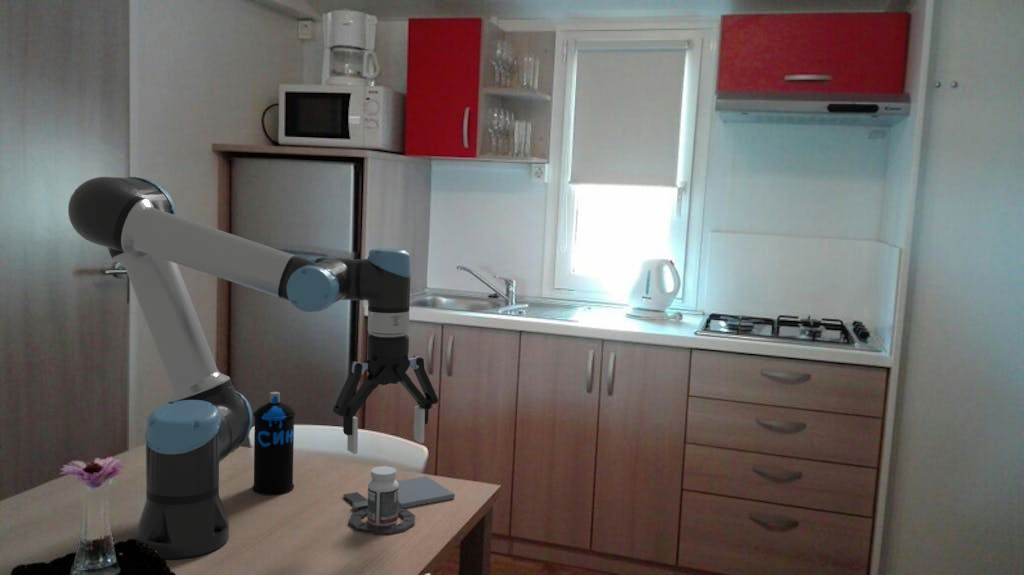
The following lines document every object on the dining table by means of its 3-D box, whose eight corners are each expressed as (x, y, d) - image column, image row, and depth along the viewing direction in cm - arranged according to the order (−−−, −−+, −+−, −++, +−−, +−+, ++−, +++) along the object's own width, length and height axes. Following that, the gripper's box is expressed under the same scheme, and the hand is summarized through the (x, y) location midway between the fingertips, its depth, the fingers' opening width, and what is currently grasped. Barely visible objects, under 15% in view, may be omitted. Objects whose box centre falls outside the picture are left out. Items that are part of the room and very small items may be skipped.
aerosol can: (250, 483, 176) (251, 389, 174) (290, 479, 180) (292, 387, 177) (254, 497, 169) (256, 398, 167) (297, 493, 172) (298, 396, 170)
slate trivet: (401, 508, 166) (401, 503, 166) (375, 489, 176) (375, 484, 176) (454, 498, 173) (454, 493, 173) (426, 480, 183) (426, 476, 183)
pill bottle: (401, 517, 162) (402, 466, 161) (393, 528, 157) (395, 476, 156) (371, 514, 163) (373, 464, 162) (363, 526, 157) (364, 473, 156)
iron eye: (366, 538, 152) (366, 533, 151) (322, 501, 168) (322, 496, 168) (426, 526, 158) (426, 521, 158) (377, 491, 175) (377, 486, 175)
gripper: (332, 341, 146) (330, 462, 148) (457, 332, 160) (454, 442, 162) (315, 334, 152) (314, 450, 154) (437, 326, 166) (435, 432, 168)
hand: (386, 446), depth 158 cm, fingers open, 13 cm apart
